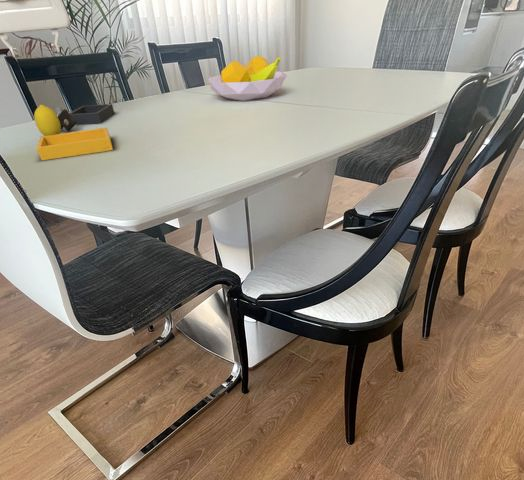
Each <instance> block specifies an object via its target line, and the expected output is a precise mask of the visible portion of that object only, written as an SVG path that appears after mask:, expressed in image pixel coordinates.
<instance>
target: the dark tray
mask: <svg viewBox="0 0 524 480" xmlns="http://www.w3.org/2000/svg"><path fill="white" fill-rule="evenodd" d="M69 114H70V115H71V116H72V117H73V118H74V120H75V121H76V122H77V123H76V124H75V125H74V126H77V125H92V124H93V125H95V124H103V122H104V121H106V120H108V119H109V118H111V117H112V116H113V115H115V114H116V113H115V110H114V105H113V104H112V103H109V104H108V103H107V104H92V105H81V106H80V107H78V108H76V109H74V110H73V111H71V112H69Z"/></svg>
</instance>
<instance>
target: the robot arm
mask: <svg viewBox="0 0 524 480" xmlns="http://www.w3.org/2000/svg"><path fill="white" fill-rule="evenodd" d="M70 27H71V20H70V16H69V14H68V11H67V9H66V6H65V3H64V2H63V0H0V40H1V42H2V43H3V44H4V45H5V46H6V47H7V48H8V49H9V50H10V52H11V56H12V57H13V58H15V59H16V58H20V57H21V53H20V52H19V49H18V47H14V46H12V44H11V43H10V42H9V41H8V40H9V37H8V34H14V33H24V32H37V31H46V30H48V31H49V30H50V31H51V34H52V36H54V42H53V44H50V45H51V46H50V47H51V49H52V52H53V54H60V53H61V50H60V47H59V37H60V33H59V30H60V29H68V28H70ZM58 29H59V30H58Z"/></svg>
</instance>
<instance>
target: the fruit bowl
mask: <svg viewBox="0 0 524 480" xmlns="http://www.w3.org/2000/svg"><path fill="white" fill-rule="evenodd" d="M280 62H281V57H279V56H278V57H276V59H275V60H274V61H273V62H271V63H270V62H269V61H268V60H267V59H266V58H265V57H263V56H262V55H258V56H254V57H252V58H251V59H250V60H249V61H248V62H247V63H246V64H245V66H244V65H243V64H242V63H241V62H239V61H238V60H232V61H230V62H229V63H228V64H227V65H226V66H225V67H224V68H223V69H222V70H221V71H220V74H218V75H214V76H211V77H208V83H209V86H210V89H211V91H212V92H214V93H216V94H218V95H220V96H222V97H224V98H226V99H227V100H235V101H241V102H246V101H247V102H248V101H252V100H253V101H254V100H259V99H265V98H268V97H270V96H271V95H272V94H274V93H275V92H276V91H278V90H279V89H280V88H281V87H282V86H283V84H284V81H285V80H286V78H287V76H288V74H287V73H286V72H284V71H279V70H278V65H279V63H280ZM277 70H278V71H277Z"/></svg>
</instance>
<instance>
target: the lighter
mask: <svg viewBox="0 0 524 480" xmlns="http://www.w3.org/2000/svg"><path fill="white" fill-rule="evenodd" d="M54 112H55V113H57V114H56V115H57V117H58V119H59V121H60V125H61V131H62V130H63V129H64V130H65V131H66V133H69V132H70V131H71V130H72V129H73V128H74V127H75V126H76V125H75V124H76V123H77V122H76V121H75V120H74V118H73V117H72V116H71V115H70V114H69V113H70V112H69V111H68V110H67V109H66V108H63V107H57V108H55V111H54Z"/></svg>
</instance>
